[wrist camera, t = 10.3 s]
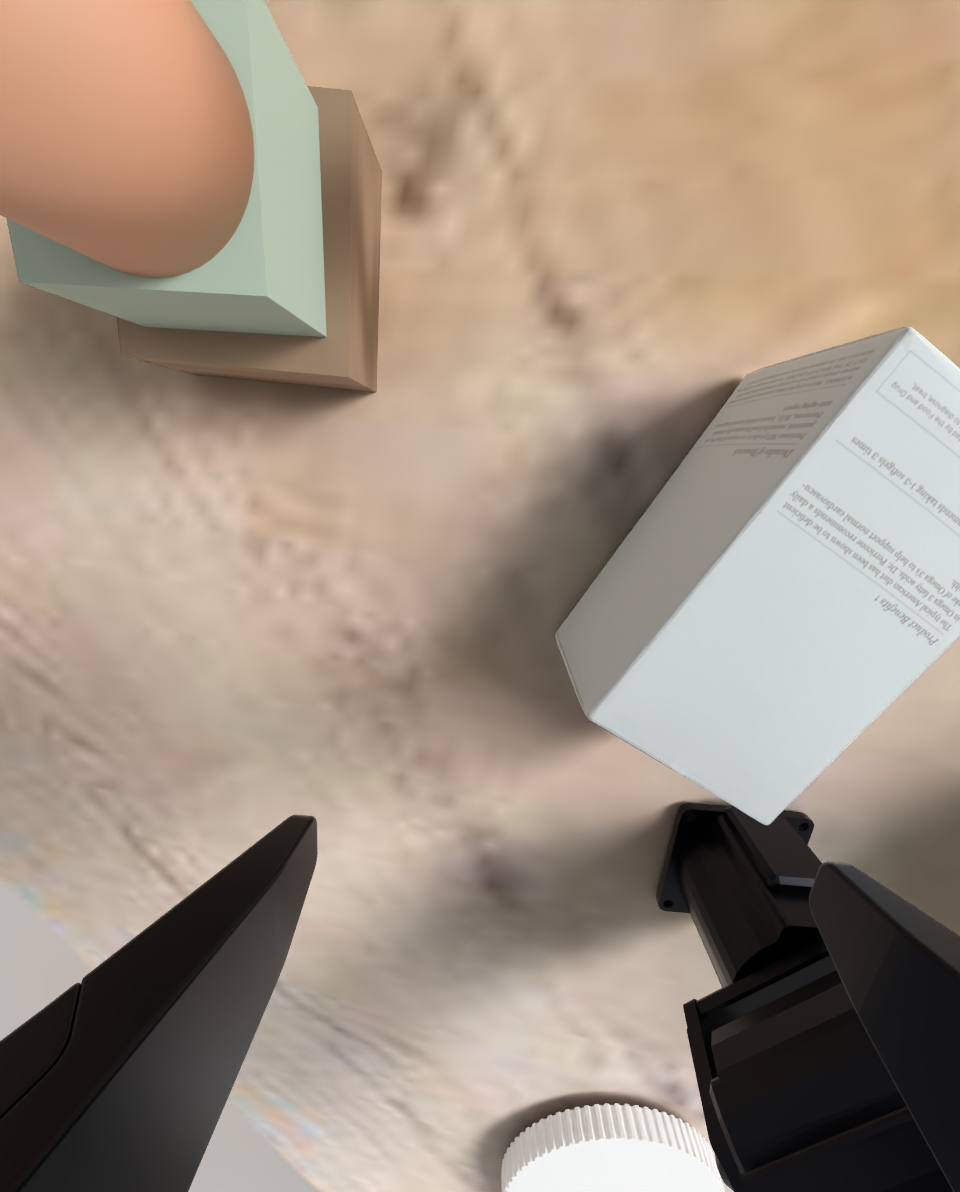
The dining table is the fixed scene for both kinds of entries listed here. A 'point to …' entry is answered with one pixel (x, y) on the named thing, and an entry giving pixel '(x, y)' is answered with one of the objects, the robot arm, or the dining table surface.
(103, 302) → the top block
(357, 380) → the bottom block
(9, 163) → the brown oval piece
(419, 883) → the dining table surface
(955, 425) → the supplement box
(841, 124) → the dining table surface
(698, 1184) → the plastic lid
